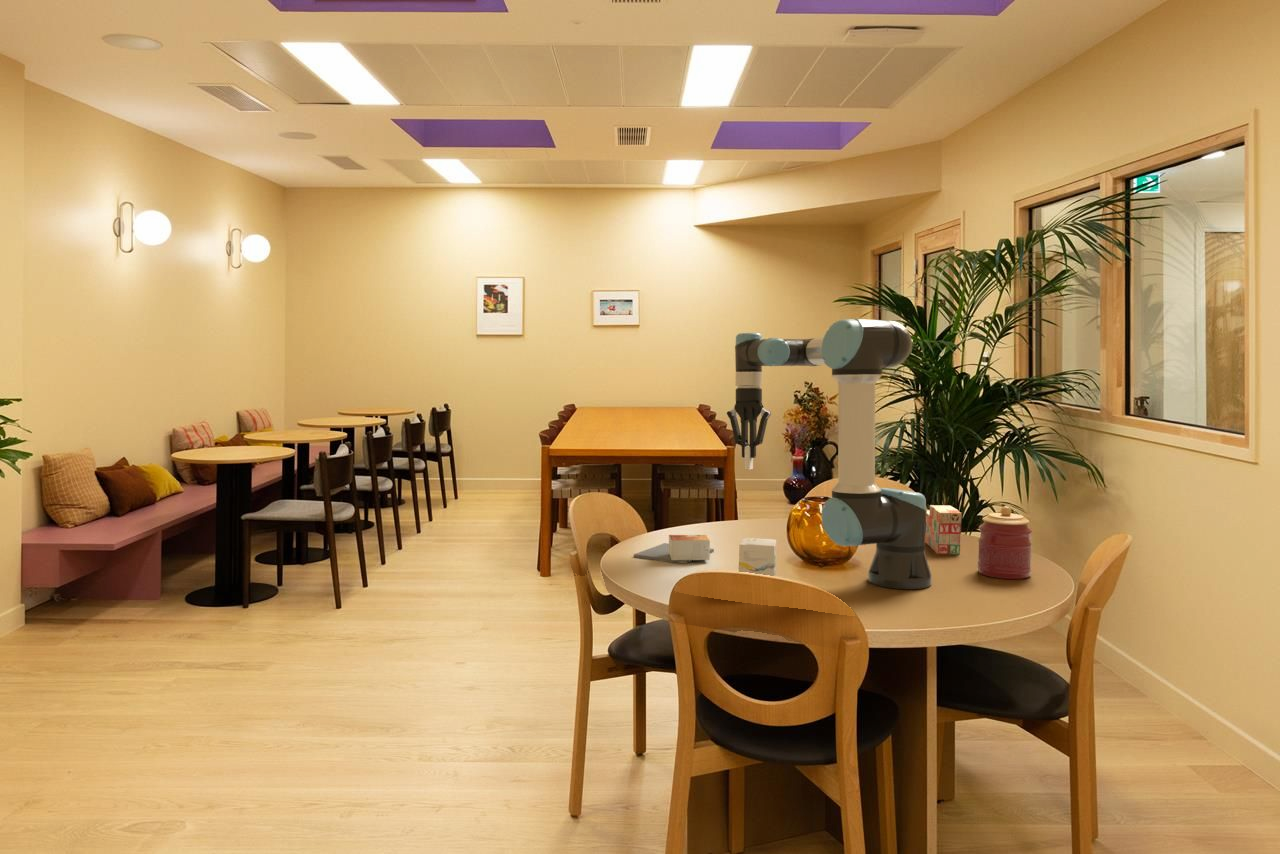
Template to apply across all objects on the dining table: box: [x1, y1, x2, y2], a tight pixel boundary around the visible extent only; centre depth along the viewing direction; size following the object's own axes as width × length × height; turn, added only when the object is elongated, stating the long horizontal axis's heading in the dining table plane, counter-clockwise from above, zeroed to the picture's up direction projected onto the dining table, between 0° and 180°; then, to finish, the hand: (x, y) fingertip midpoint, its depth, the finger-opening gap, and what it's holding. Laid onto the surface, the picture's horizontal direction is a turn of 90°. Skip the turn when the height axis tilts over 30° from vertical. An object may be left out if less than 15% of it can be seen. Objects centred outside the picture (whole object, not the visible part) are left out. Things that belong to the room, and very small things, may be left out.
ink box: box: [738, 537, 777, 576], centre depth 225 cm, size 9×8×12 cm
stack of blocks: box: [925, 504, 963, 555], centre depth 275 cm, size 21×6×12 cm, turn 175°
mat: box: [633, 542, 715, 564], centre depth 263 cm, size 16×18×1 cm
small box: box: [668, 534, 711, 561], centre depth 256 cm, size 8×6×10 cm
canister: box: [976, 505, 1034, 580], centre depth 241 cm, size 13×13×18 cm
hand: (748, 469), depth 269 cm, fingers closed
